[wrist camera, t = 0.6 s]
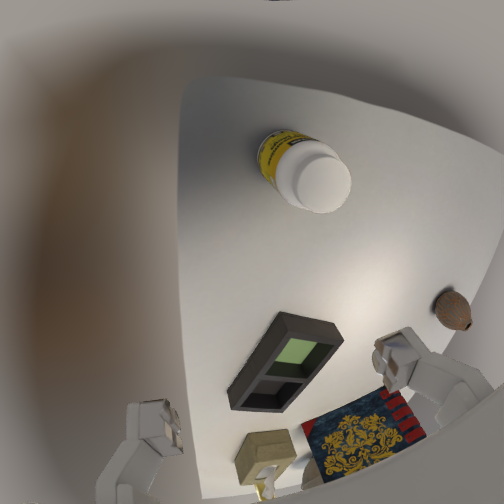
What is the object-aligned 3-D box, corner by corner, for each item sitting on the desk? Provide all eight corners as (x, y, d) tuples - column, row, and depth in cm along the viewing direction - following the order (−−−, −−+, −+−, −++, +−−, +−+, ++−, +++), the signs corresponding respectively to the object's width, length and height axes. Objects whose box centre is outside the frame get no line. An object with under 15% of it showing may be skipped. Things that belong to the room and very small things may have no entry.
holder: (279, 311, 43) (288, 330, 39) (334, 323, 47) (344, 340, 43) (227, 391, 50) (230, 410, 46) (276, 396, 54) (282, 412, 50)
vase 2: (429, 298, 50) (456, 327, 43) (454, 279, 50) (482, 305, 42) (430, 319, 54) (454, 346, 46) (454, 301, 53) (478, 326, 46)
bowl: (344, 434, 73) (356, 461, 65) (351, 449, 83) (361, 471, 75) (285, 459, 74) (294, 486, 65) (301, 470, 84) (309, 493, 75)
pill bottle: (291, 118, 30) (339, 131, 21) (319, 162, 33) (371, 193, 24) (244, 151, 31) (272, 178, 21) (275, 194, 34) (312, 237, 25)
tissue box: (248, 432, 60) (264, 492, 46) (288, 428, 62) (308, 484, 49) (234, 461, 68) (245, 510, 54) (267, 458, 71) (282, 504, 57)
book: (395, 378, 63) (444, 456, 41) (394, 390, 66) (438, 463, 45) (300, 423, 62) (334, 513, 41) (305, 432, 66) (337, 514, 45)
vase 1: (257, 474, 78) (268, 511, 65) (273, 473, 80) (284, 509, 68) (249, 480, 80) (258, 515, 68) (264, 479, 82) (274, 513, 70)
